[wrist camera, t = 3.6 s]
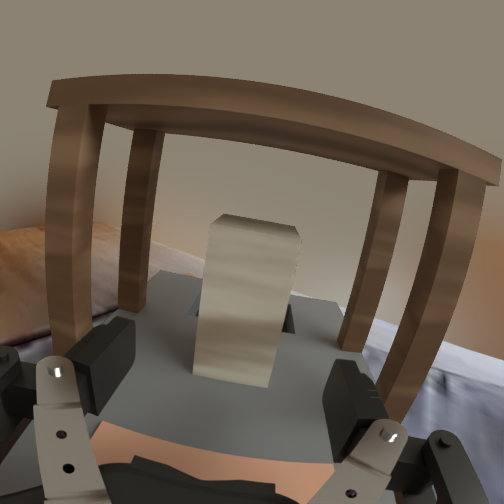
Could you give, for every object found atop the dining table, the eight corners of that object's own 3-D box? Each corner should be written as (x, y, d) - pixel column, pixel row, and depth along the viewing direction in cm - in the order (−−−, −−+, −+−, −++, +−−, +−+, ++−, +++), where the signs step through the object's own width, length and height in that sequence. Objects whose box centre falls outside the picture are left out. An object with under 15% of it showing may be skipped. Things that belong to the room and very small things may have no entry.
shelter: (409, 429, 15) (501, 159, 11) (45, 362, 16) (52, 80, 12) (365, 343, 27) (411, 163, 23) (117, 298, 27) (136, 114, 23)
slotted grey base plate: (427, 623, 2) (464, 609, 2) (-44, 532, 3) (-74, 505, 2) (331, 320, 37) (336, 300, 37) (159, 289, 38) (160, 268, 37)
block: (267, 388, 19) (302, 240, 17) (192, 374, 19) (210, 223, 17) (267, 349, 24) (294, 226, 21) (206, 338, 24) (223, 213, 21)
